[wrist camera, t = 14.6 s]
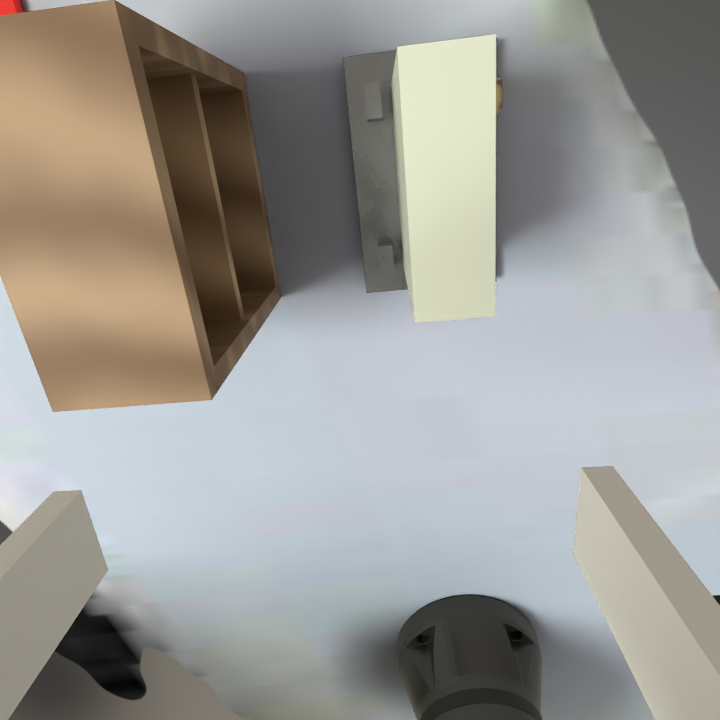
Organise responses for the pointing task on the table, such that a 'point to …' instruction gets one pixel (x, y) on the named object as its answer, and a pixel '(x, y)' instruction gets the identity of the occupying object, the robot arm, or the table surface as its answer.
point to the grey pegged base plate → (378, 168)
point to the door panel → (447, 174)
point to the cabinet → (128, 208)
